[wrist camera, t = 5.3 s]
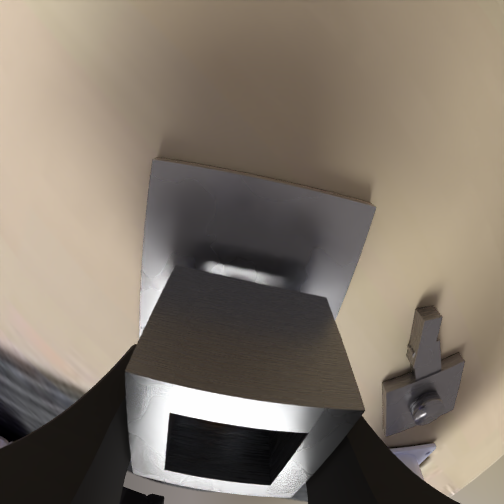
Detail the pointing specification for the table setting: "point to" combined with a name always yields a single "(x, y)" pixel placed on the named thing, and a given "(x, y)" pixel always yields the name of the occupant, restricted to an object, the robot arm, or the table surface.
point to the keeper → (249, 231)
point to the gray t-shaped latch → (422, 378)
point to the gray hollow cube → (237, 386)
